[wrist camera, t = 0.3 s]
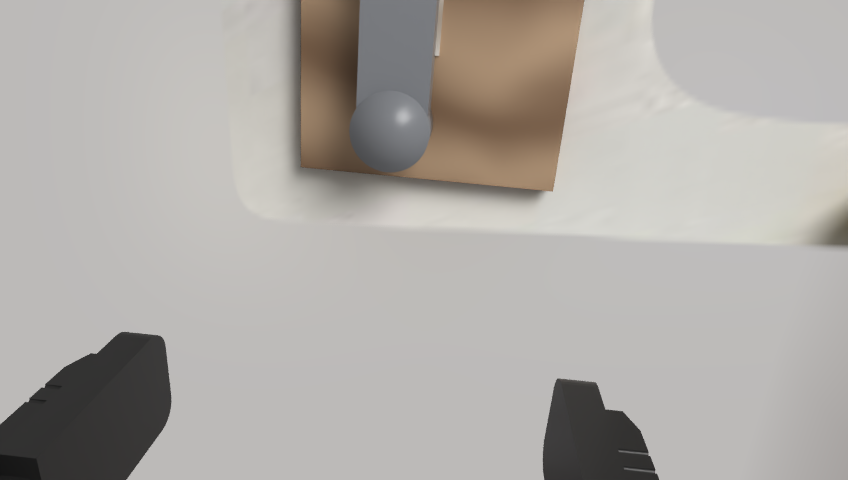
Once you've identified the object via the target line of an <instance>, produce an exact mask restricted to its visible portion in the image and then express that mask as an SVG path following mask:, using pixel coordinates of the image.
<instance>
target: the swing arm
mask: <svg viewBox="0 0 848 480" xmlns="http://www.w3.org/2000/svg"><path fill="white" fill-rule="evenodd" d="M438 12H439V0H360V15H359V43H358V72H357V101H356V110H355V112H354V113H353V115H352V118H351V121H350V127H349V135H350V141H351V144H352V147H353V149H354V151H355V153H356V154H357V156H358V157H359V158H360V159H361V160H362V161H363V162H364V163H365V164H366V165H368V166H369V167H371V168H373V169H375V170H378V171H382V172H391V173H392V172H399V171H403V170H406V169H408V168H410V167H411V166H413V165H414V164H415V163H416V162H418V161H419V159H420V158H421V157H422V156H423V154H424V152H425V150H426V148H427V145H428V142H429V139H430V136H431V133H432V129H433V115H432V111H431V99H432V86H433V74H434V62H435V49H436V37H437V24H438Z"/></svg>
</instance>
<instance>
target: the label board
mask: <svg viewBox="0 0 848 480" xmlns="http://www.w3.org/2000/svg"><path fill="white" fill-rule="evenodd" d="M583 5H584V0H439V12H438V24H437V37H436V49H435V62H434V74H433V86H432V99H431V111H432V115H433V129H432V133H431V136H430V139H429V142H428V145H427V148H426V150H425V152H424V154H423V156H422V157H421V158H420V159H419V161H418V162H416V163H415V164H414V165H413V166H411V167H410V168H408V169H406V170H403V171H399V172H392V173H391V172H382V171H378V170H375V169H373V168H371V167H369V166H368V165H366V164H365V163H364V162H363V161H362V160H361V159H360V158H359V157H358V156H357V154H356V153H355V151H354V149H353V147H352V144H351V141H350V135H349V127H350V121H351V118H352V115H353V113H354V112H355V110H356V101H357V72H358V43H359V15H360V0H301V167H305V168H315V169H326V170H336V171H346V172H357V173H367V174H378V175H388V176H398V177H409V178H419V179H429V180H440V181H450V182H460V183H471V184H481V185H492V186H502V187H512V188H523V189H533V190H543V191H553V187H554V181H555V175H556V169H557V163H558V157H559V151H560V145H561V139H562V133H563V127H564V121H565V115H566V108H567V102H568V96H569V90H570V84H571V78H572V72H573V66H574V60H575V54H576V48H577V42H578V36H579V30H580V23H581V17H582V11H583Z"/></svg>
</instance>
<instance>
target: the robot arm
mask: <svg viewBox="0 0 848 480" xmlns="http://www.w3.org/2000/svg"><path fill="white" fill-rule="evenodd" d="M170 409H171V391H170V382H169V373H168V364H167V356H166V347H165V342H164V340H163V338H162V337H161V336H158V335H148V334H139V333H129V332H121V333H119V334H118V335H117V336H115V337H114V338H113V339H112V340H111V341H110V342H109V343H108V344H107V345H106V346H105V347H104V348H103V349H101V350H100V351H99V352H98V353H97V354H89V355H87V356H85V357H83V358H81V359H79V360H77V361H75V362H73V363H72V364H70V365H68V366H66V367H64V368H63V369H62V370H61V371H60V372H59V373H57V374H56V375H55V376H54V377H53V378H52V379H51V380H50V381H49V382H47V383H46V384H45V388H41V389H40V390H38V391H37V392H36V393H35V394H34V395H33V396H32V397H31V398H30V400H29V402H25V403H24V404H23V405H22V406H21V407H19V408H18V409H17V410H16V411H15V412H14V413H13V414H12V415H11V416H9V417H8V418H7V419H6V420H5V421H4V422H3V423H2V424H0V480H126V479H127V478H128V477H129V475H130V474H131V472H132V471H133V470H134V468H135V467H136V465H137V464H138V463H139V461H140V460H141V459H142V457H143V456H144V455H145V453H146V452H147V450H148V449H149V448H150V446H151V445H152V444H153V442H154V441H155V439H156V438H157V437H158V435H159V434H160V433H161V431H162V430H163V428H164V426H165V424H166V422H167V420H168V417H169V413H170ZM543 473H544V480H659V478H658V475H657V474H655V468H654V465H653V462H652V460H651V457H650V456H648V449H647V447H646V444H645V442H644V439H643V436H642V434H641V431H640V430H639V429H638V428H637V427H636V426H635V424H634V423H633V422H632V421H631V420H630V419H629V418H628V417H627V416H626V415H625V414H624V413H623V411H613V410H605V407H604V404H603V401H602V398H601V395H600V392H599V389H598V386H597V384H596V383H595V382H585V381H577V380H567V379H557V380H556V383H555V386H554V391H553V396H552V402H551V407H550V413H549V418H548V423H547V428H546V434H545V439H544V447H543Z"/></svg>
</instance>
